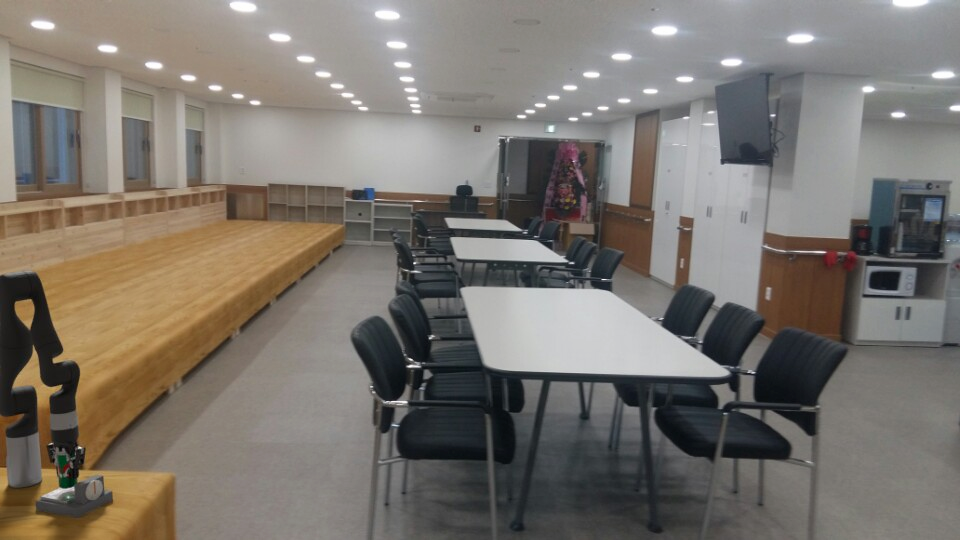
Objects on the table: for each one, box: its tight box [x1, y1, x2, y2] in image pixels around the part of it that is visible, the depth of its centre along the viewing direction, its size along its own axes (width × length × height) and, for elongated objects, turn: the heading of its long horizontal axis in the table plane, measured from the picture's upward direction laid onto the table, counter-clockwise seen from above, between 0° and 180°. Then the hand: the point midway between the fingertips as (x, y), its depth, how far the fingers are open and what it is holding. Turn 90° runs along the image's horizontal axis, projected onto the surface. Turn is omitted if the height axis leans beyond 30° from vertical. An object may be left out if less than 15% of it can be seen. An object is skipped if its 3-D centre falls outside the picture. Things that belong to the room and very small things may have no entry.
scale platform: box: [39, 487, 75, 504], centre depth 219 cm, size 11×11×1 cm
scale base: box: [34, 474, 114, 518], centre depth 218 cm, size 17×13×9 cm
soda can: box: [57, 450, 79, 489], centre depth 218 cm, size 5×5×12 cm
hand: (68, 477), depth 218 cm, fingers closed on soda can, 5 cm apart
